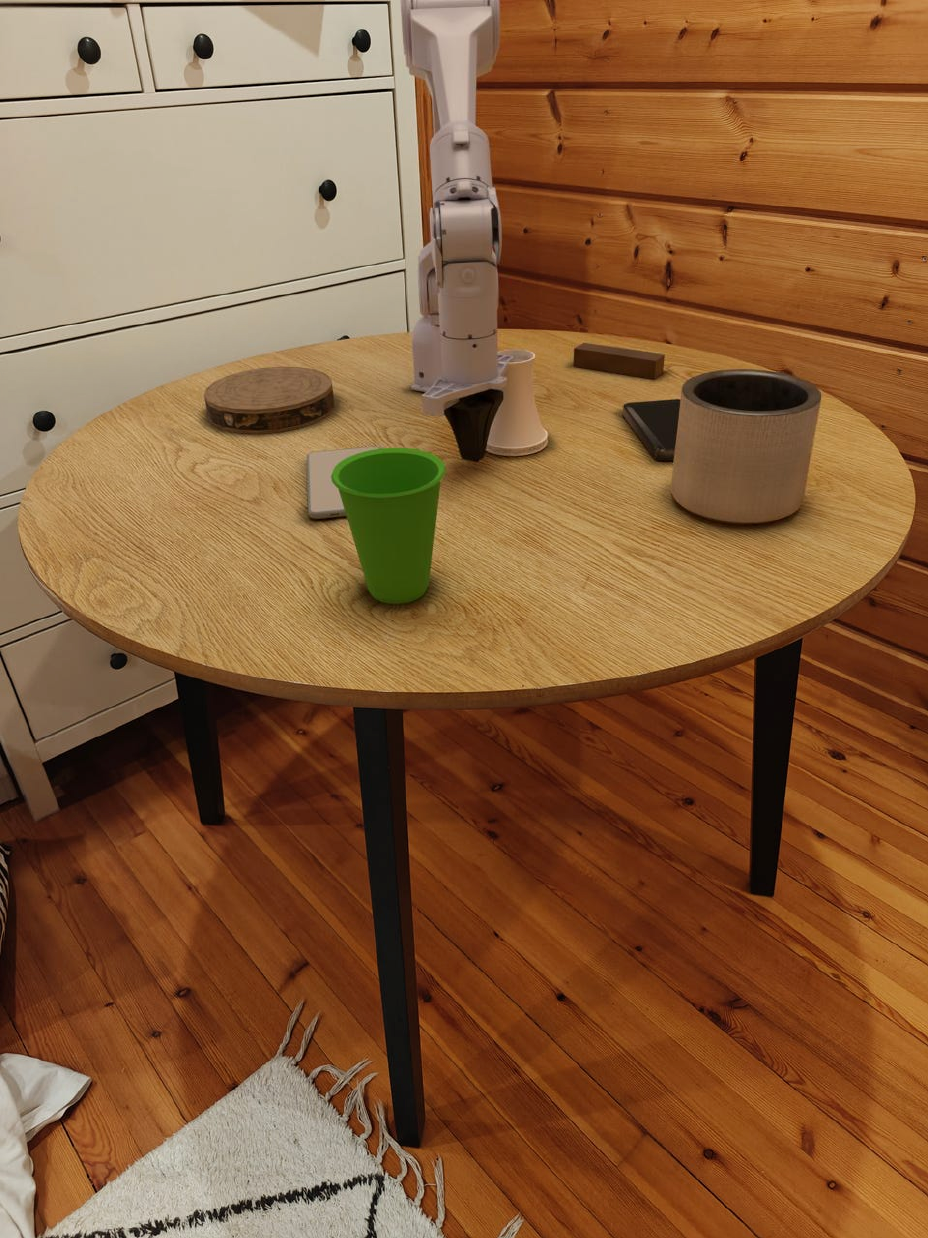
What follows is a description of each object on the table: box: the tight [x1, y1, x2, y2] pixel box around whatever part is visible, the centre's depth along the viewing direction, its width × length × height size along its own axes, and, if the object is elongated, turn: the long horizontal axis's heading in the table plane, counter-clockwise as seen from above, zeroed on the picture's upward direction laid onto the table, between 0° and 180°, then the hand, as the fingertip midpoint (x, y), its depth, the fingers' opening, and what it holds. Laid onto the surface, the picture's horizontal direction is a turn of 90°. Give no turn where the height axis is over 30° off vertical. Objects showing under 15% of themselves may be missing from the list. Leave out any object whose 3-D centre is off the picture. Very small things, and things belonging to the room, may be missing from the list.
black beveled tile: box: [622, 398, 681, 461], centre depth 103 cm, size 8×1×15 cm
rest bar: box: [573, 342, 666, 380], centre depth 122 cm, size 12×3×2 cm, turn 57°
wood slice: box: [203, 366, 335, 435], centre depth 114 cm, size 16×16×3 cm
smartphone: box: [306, 445, 381, 520], centre depth 94 cm, size 8×1×15 cm
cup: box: [331, 447, 447, 605], centre depth 74 cm, size 9×9×11 cm
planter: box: [670, 368, 822, 526], centre depth 86 cm, size 12×12×11 cm
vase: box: [485, 349, 549, 457], centre depth 100 cm, size 8×8×10 cm
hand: (472, 458), depth 97 cm, fingers closed
